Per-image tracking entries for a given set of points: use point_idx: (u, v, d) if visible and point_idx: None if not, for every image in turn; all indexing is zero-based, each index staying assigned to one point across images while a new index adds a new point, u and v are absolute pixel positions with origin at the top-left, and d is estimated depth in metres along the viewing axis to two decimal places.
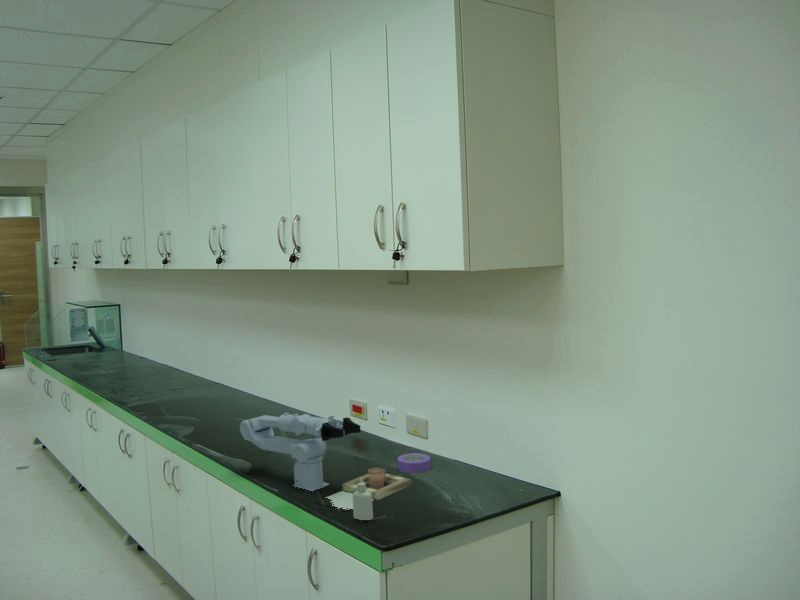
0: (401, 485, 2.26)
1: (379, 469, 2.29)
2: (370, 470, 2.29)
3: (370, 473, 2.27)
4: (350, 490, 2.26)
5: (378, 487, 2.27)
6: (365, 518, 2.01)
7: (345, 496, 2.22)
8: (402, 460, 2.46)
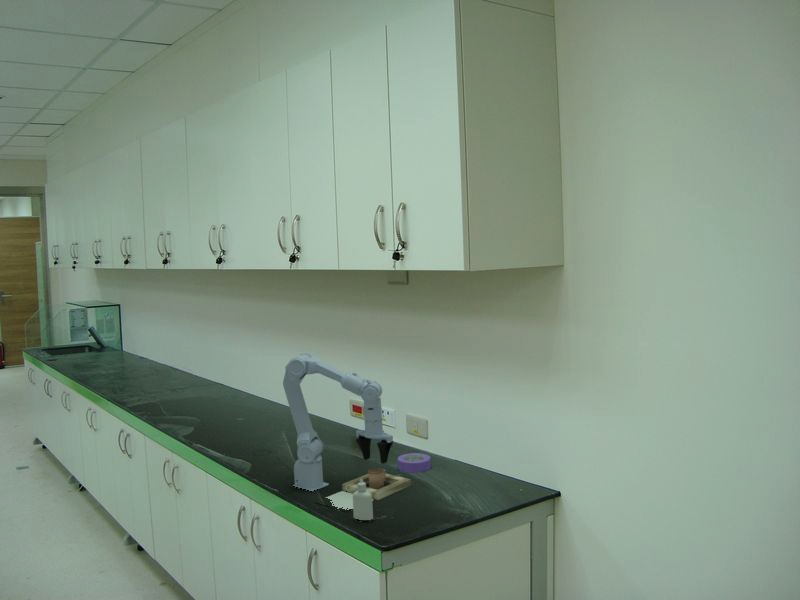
0: (401, 485, 2.26)
1: (379, 469, 2.29)
2: (370, 470, 2.29)
3: (370, 473, 2.27)
4: (350, 490, 2.26)
5: (378, 487, 2.27)
6: (365, 518, 2.01)
7: (345, 496, 2.22)
8: (402, 460, 2.46)
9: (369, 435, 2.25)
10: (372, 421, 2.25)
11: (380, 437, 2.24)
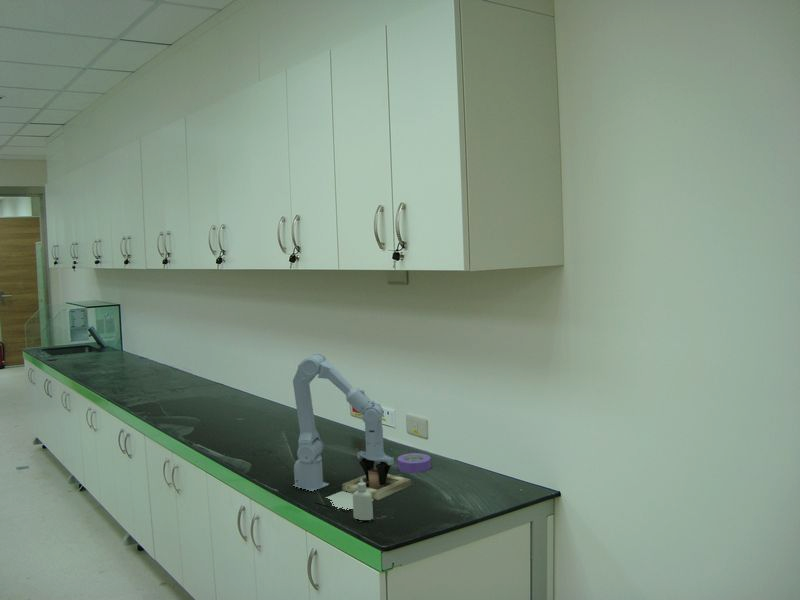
0: (401, 485, 2.26)
1: None
2: (370, 470, 2.29)
3: (370, 473, 2.27)
4: (350, 490, 2.26)
5: (378, 487, 2.27)
6: (365, 518, 2.01)
7: (345, 496, 2.22)
8: (402, 460, 2.46)
9: (370, 458, 2.26)
10: (373, 443, 2.25)
11: (381, 459, 2.24)
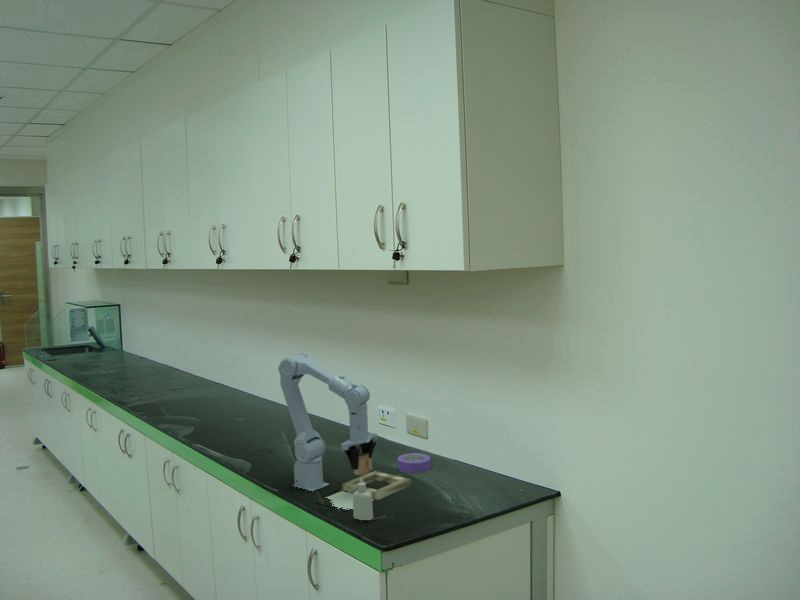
0: (401, 485, 2.26)
1: (361, 455, 2.22)
2: (359, 452, 2.25)
3: None
4: (350, 490, 2.26)
5: (354, 470, 2.23)
6: (365, 518, 2.01)
7: (345, 496, 2.22)
8: (402, 460, 2.46)
9: None
10: None
11: None
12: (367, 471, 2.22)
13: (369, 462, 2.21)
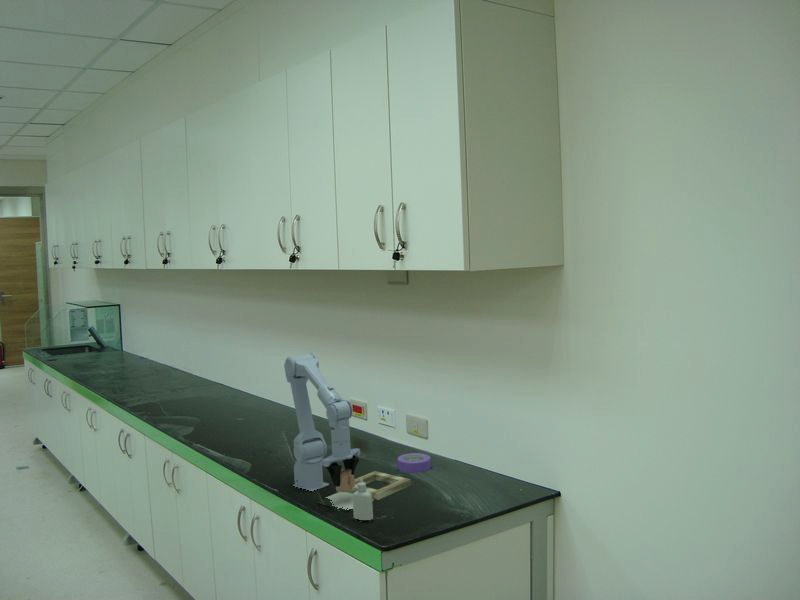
0: (401, 485, 2.26)
1: (344, 471, 2.16)
2: (342, 468, 2.19)
3: None
4: None
5: (336, 487, 2.17)
6: (365, 518, 2.01)
7: (345, 496, 2.22)
8: (402, 460, 2.46)
9: None
10: None
11: None
12: (349, 488, 2.16)
13: (351, 479, 2.15)
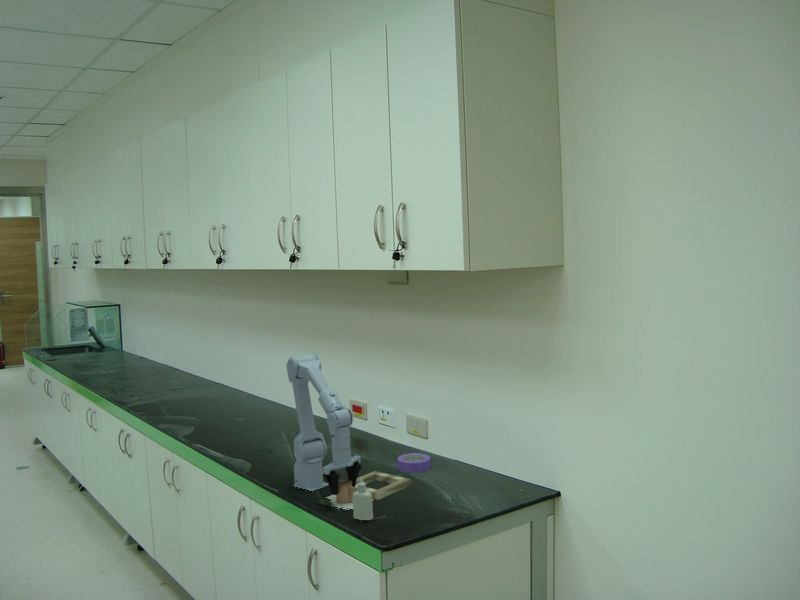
0: (401, 485, 2.26)
1: (344, 483, 2.16)
2: (342, 480, 2.19)
3: None
4: None
5: (336, 499, 2.17)
6: (365, 518, 2.01)
7: None
8: (402, 460, 2.46)
9: None
10: None
11: None
12: (350, 500, 2.16)
13: (352, 491, 2.15)
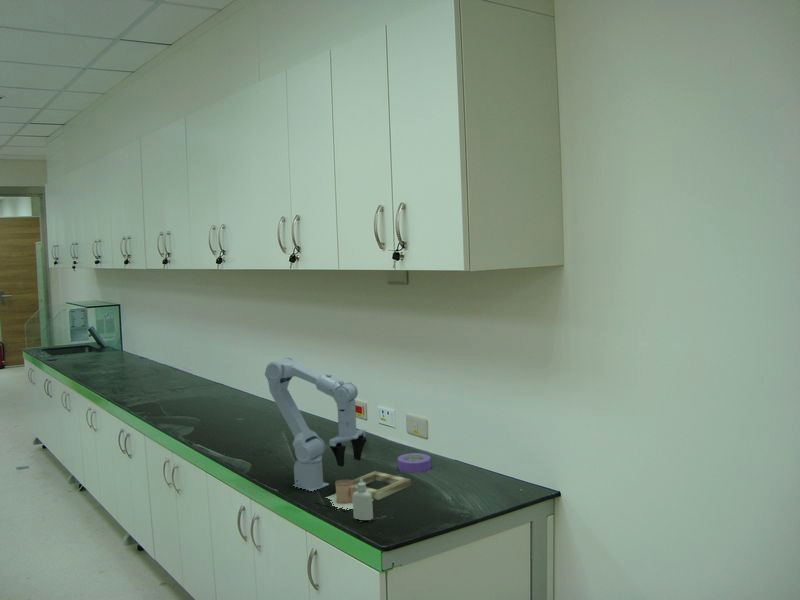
0: (401, 485, 2.26)
1: (344, 483, 2.16)
2: (342, 480, 2.19)
3: None
4: None
5: (336, 499, 2.17)
6: (365, 518, 2.01)
7: None
8: (402, 460, 2.46)
9: None
10: None
11: None
12: (350, 500, 2.16)
13: (352, 490, 2.15)
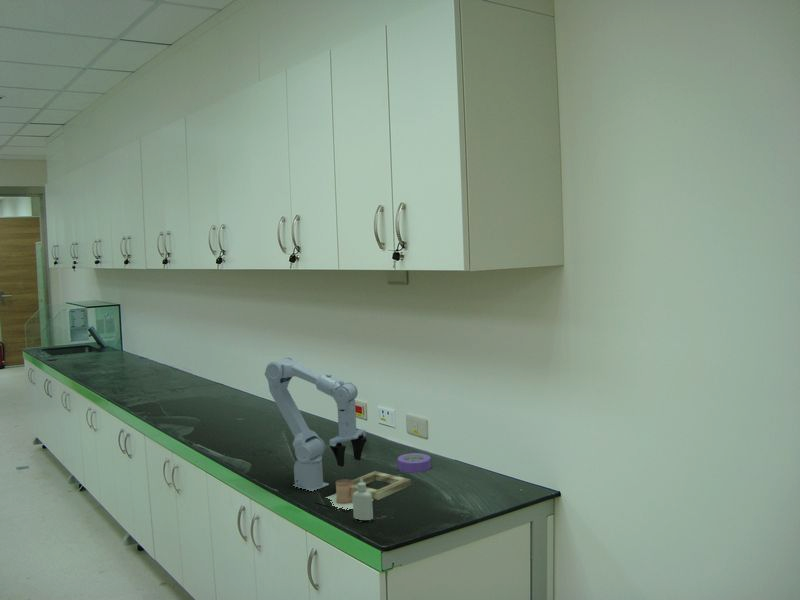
0: (401, 485, 2.26)
1: (345, 483, 2.16)
2: (343, 480, 2.19)
3: None
4: None
5: (336, 498, 2.17)
6: (365, 518, 2.01)
7: None
8: (402, 460, 2.46)
9: None
10: None
11: None
12: (350, 500, 2.16)
13: (352, 491, 2.15)
